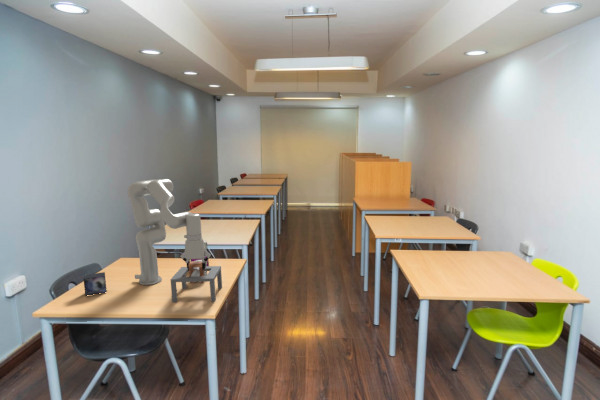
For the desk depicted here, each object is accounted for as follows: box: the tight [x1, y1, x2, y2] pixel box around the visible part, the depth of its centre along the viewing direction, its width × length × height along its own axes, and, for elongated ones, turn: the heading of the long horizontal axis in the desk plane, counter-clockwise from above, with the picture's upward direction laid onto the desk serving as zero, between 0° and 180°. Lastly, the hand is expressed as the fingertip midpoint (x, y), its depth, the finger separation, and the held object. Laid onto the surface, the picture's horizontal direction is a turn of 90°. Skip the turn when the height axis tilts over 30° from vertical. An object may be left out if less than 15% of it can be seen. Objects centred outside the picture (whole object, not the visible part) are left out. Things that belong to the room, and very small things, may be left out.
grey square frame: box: [170, 265, 223, 303], centre depth 206 cm, size 22×19×14 cm
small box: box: [83, 271, 108, 297], centre depth 211 cm, size 11×6×10 cm, turn 117°
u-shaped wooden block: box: [188, 260, 205, 285], centre depth 205 cm, size 7×4×11 cm, turn 90°
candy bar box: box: [190, 240, 210, 266], centre depth 251 cm, size 11×5×16 cm, turn 113°
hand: (196, 269), depth 205 cm, fingers closed on u-shaped wooden block, 7 cm apart
